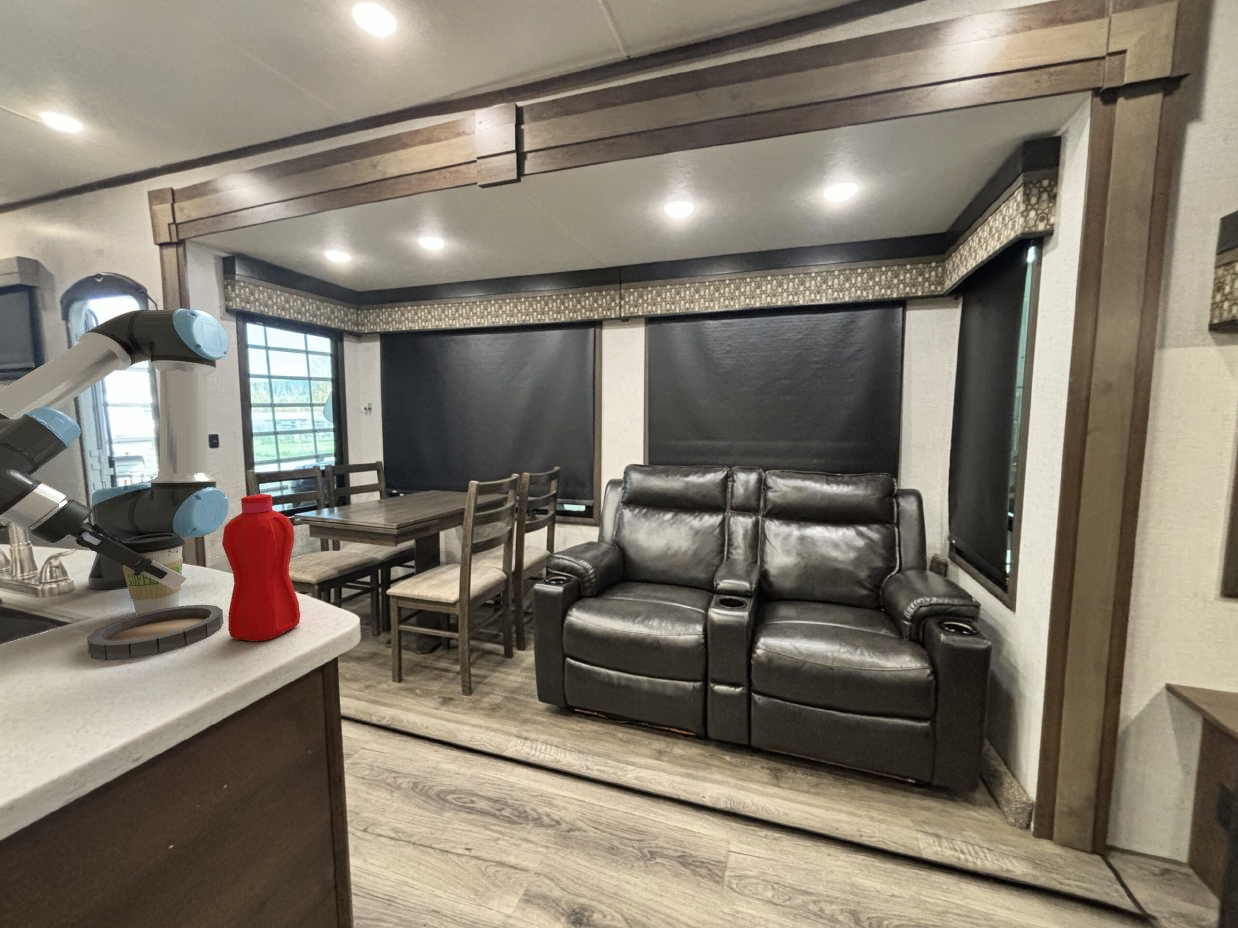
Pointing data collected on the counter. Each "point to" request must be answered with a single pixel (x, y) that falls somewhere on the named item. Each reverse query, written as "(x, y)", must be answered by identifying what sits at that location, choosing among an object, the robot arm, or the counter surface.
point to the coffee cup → (145, 589)
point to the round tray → (154, 632)
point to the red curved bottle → (260, 571)
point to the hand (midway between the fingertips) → (175, 578)
